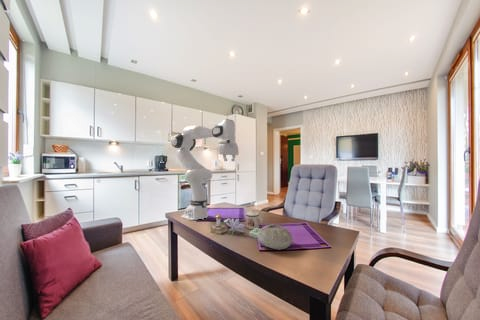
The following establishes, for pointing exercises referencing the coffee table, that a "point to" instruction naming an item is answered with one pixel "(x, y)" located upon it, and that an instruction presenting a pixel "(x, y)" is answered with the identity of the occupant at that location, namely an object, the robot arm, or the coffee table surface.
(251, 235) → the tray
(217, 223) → the lock pin
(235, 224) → the water lily
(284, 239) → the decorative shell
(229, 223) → the pulley
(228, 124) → the robot arm
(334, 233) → the coffee table surface
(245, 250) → the coffee table surface
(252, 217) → the teacup with lid
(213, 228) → the tensioner block
